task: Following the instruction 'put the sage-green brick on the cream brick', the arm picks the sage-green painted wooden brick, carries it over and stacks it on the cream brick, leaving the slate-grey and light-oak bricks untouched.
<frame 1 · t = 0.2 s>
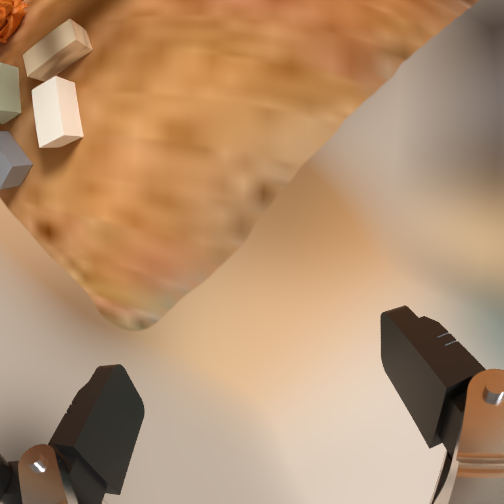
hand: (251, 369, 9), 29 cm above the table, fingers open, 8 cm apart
sage brick: (11, 95, 30), on the table
slate brick: (14, 157, 33), on the table
oak brick: (66, 56, 29), on the table
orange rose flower: (11, 22, 26), on the table
cream brick: (66, 114, 32), on the table
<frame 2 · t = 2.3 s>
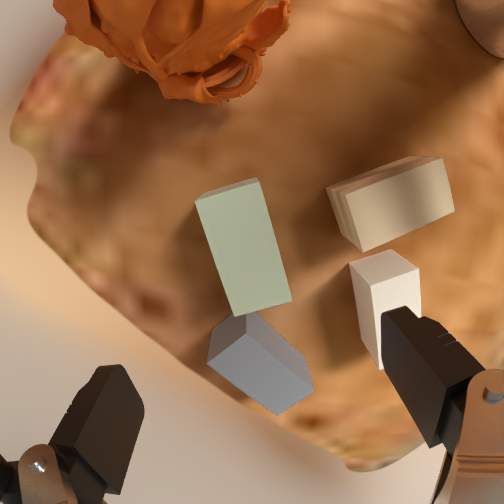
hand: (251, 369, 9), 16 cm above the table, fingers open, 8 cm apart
sage brick: (245, 234, 24), on the table
slate brick: (260, 343, 27), on the table
oak brick: (376, 193, 23), on the table
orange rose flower: (202, 50, 20), on the table
cream brick: (375, 296, 26), on the table
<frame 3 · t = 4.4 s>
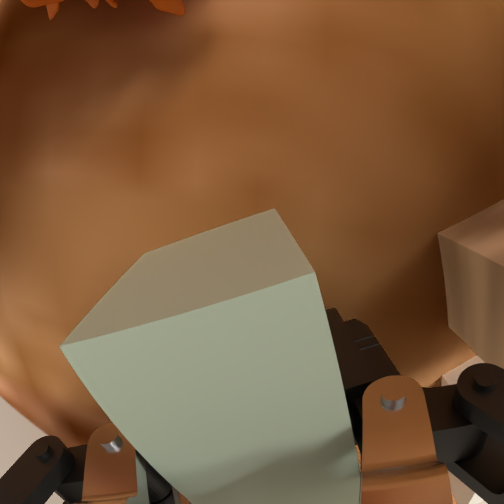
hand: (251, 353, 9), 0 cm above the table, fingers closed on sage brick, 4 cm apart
sage brick: (251, 345, 10), on the table, touching gripper
cream brick: (467, 405, 12), on the table
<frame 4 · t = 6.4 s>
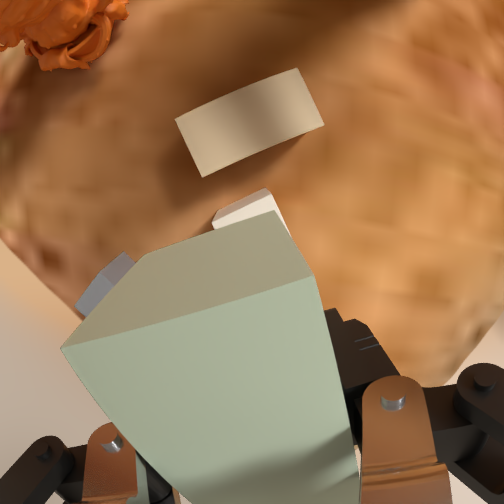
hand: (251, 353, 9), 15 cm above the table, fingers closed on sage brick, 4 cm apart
sage brick: (251, 346, 10), point 15 cm above the table, touching gripper
slate brick: (144, 298, 25), on the table
oak brick: (248, 128, 22), on the table
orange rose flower: (86, 28, 18), on the table
cream brick: (263, 244, 24), on the table
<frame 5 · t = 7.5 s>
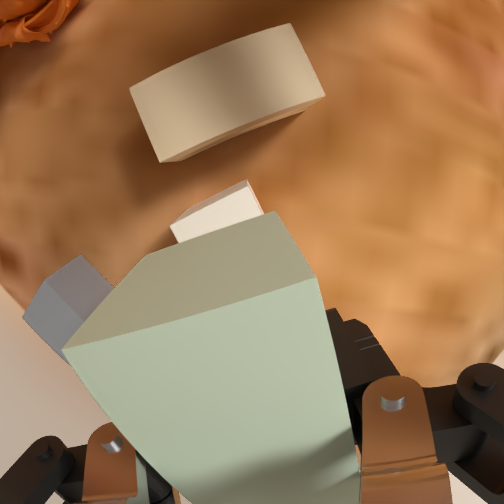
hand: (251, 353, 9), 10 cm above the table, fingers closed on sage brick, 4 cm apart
sage brick: (252, 347, 10), point 10 cm above the table, touching gripper
slate brick: (106, 309, 21), on the table
oak brick: (229, 104, 17), on the table
cream brick: (246, 250, 20), on the table
when the fingers open (6 cm above the table, at t = 8.6 s): sage brick drops 1 cm, resting on cream brick.
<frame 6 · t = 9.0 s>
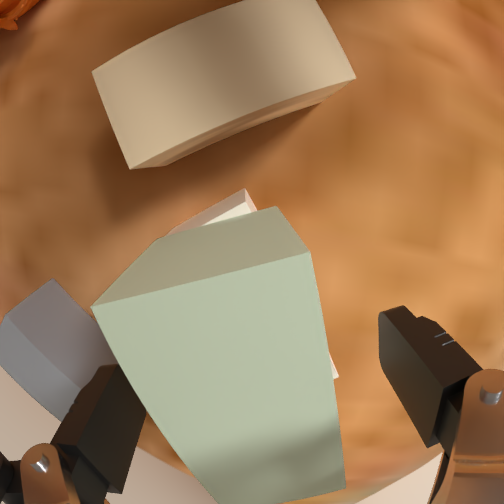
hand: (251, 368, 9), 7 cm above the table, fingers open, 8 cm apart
sage brick: (247, 329, 11), point 5 cm above the table, touching cream brick
slate brick: (85, 341, 17), on the table
oak brick: (226, 94, 13), on the table
cream brick: (247, 277, 16), on the table, touching sage brick
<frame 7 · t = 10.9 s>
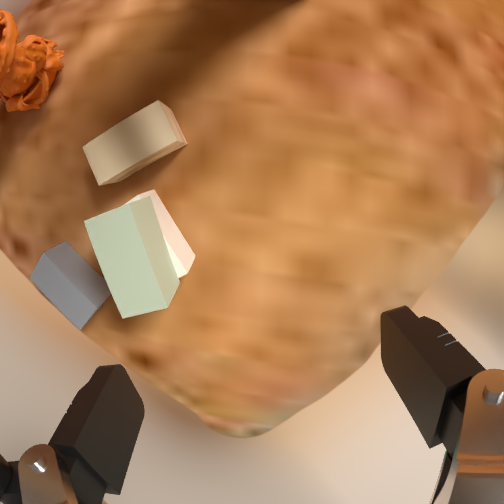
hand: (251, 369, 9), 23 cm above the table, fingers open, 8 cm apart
sage brick: (144, 246, 26), point 5 cm above the table, touching cream brick
slate brick: (81, 275, 32), on the table
oak brick: (144, 145, 28), on the table
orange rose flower: (39, 74, 25), on the table
cream brick: (159, 233, 31), on the table, touching sage brick
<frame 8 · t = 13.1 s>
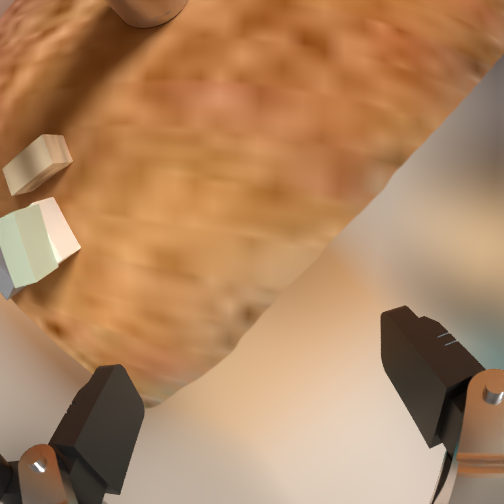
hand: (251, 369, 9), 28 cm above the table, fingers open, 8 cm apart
sage brick: (37, 239, 31), point 5 cm above the table, touching cream brick
slate brick: (14, 260, 36), on the table
oak brick: (47, 163, 33), on the table
cream brick: (57, 229, 35), on the table, touching sage brick
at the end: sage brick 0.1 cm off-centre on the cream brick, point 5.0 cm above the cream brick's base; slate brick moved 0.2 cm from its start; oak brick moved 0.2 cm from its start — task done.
